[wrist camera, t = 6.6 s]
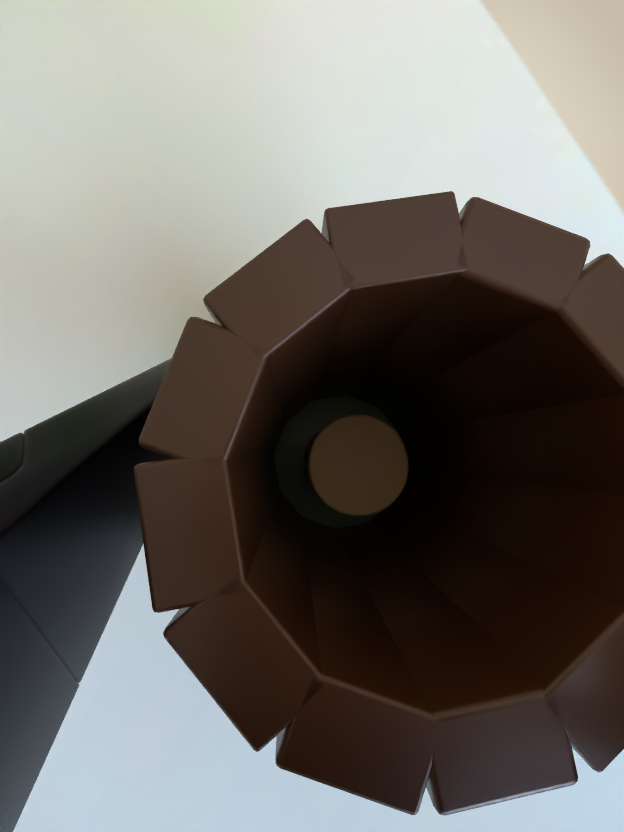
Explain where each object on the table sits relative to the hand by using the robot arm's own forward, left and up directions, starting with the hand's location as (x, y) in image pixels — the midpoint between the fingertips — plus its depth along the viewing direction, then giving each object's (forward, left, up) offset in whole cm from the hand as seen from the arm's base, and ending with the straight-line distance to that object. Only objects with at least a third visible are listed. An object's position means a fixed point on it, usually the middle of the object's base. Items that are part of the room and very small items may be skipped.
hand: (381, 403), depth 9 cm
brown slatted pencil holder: (-1, -1, -6) cm, 6 cm away
